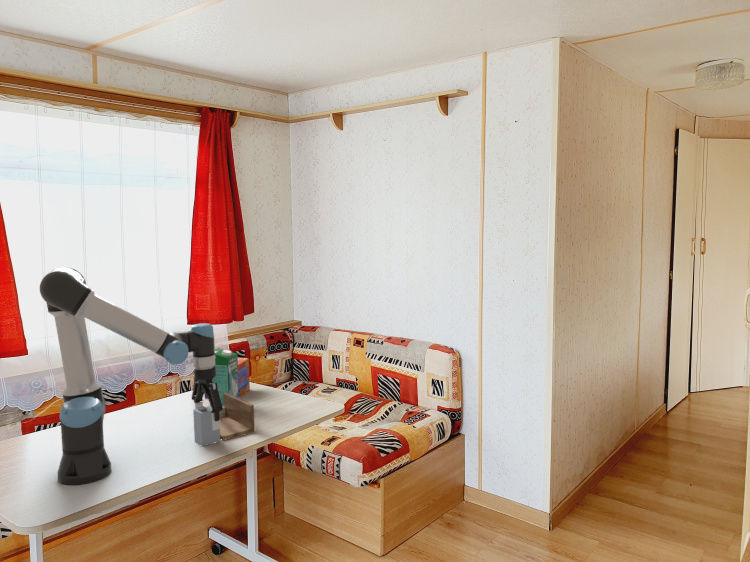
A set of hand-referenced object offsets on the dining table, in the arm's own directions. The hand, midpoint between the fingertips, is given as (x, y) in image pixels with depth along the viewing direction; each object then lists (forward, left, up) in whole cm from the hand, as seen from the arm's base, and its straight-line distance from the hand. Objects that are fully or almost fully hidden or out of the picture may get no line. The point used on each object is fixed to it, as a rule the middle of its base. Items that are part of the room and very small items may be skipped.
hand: (207, 424), depth 208 cm
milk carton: (+23, +32, -7) cm, 40 cm away
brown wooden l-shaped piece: (+11, +8, -6) cm, 15 cm away
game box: (+33, +49, -7) cm, 59 cm away
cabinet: (0, 0, -6) cm, 6 cm away
